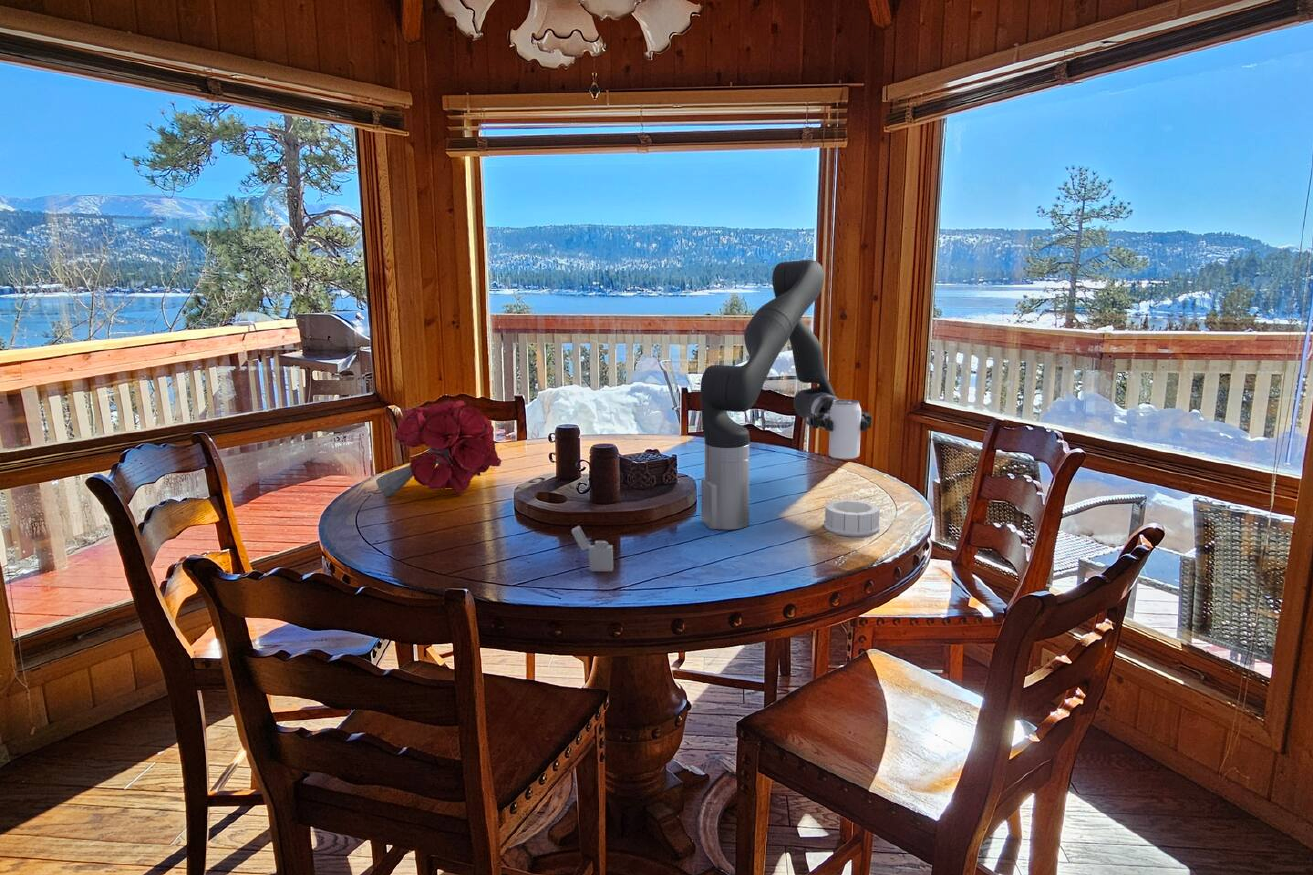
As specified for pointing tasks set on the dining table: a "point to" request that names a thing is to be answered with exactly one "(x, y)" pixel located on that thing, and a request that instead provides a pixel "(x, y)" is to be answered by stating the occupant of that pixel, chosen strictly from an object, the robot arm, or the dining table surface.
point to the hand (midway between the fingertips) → (847, 426)
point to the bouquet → (444, 447)
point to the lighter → (595, 552)
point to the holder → (851, 518)
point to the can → (845, 429)
